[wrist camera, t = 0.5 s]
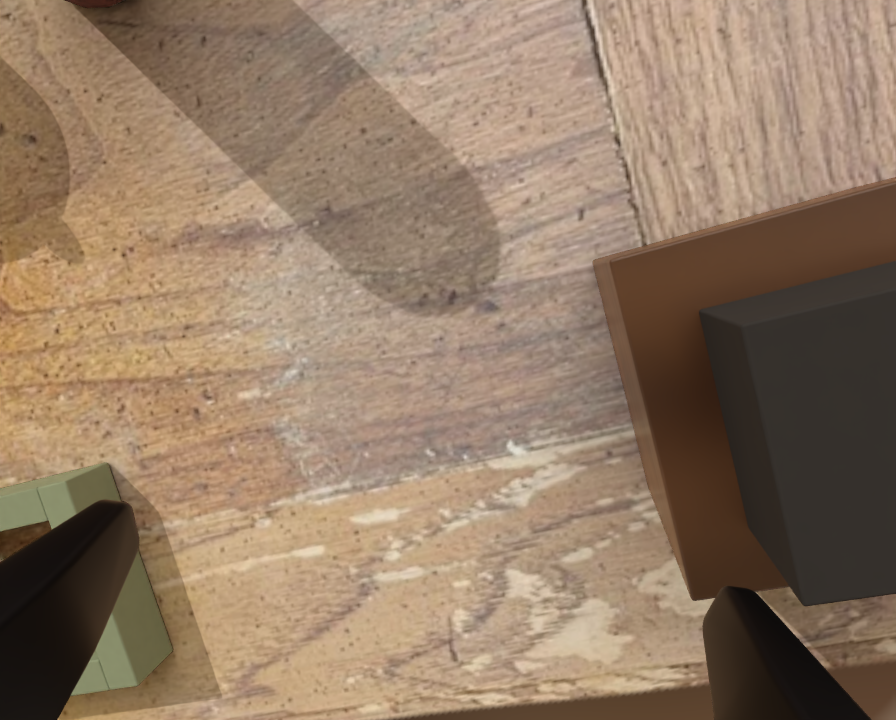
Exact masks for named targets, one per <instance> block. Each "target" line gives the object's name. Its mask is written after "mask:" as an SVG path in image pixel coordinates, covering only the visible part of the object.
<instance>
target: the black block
mask: <svg viewBox="0 0 896 720" xmlns="http://www.w3.org/2000/svg"><path fill="white" fill-rule="evenodd" d="M699 316H700V320H701V324H702V329H703V333H704V337H705V342H706V346H707V350H708V355H709V359H710V363H711V368H712V372H713V376H714V381H715V385H716V389H717V394H718V398H719V402H720V407H721V411H722V415H723V420H724V424H725V428H726V433H727V437H728V441H729V446H730V450H731V454H732V459H733V463H734V467H735V472H736V476H737V480H738V485H739V489H740V493H741V498H742V502H743V506H744V511H745V515H746V519H747V524H748V528H749V529H750V531H751V532H752V534H753V535H754V536H755V538H756V539H757V541H758V542H759V543H760V545H761V546H762V548H763V549H764V551H765V552H766V553H767V555H768V556H769V558H770V559H771V561H772V562H773V563H774V565H775V566H776V568H777V569H778V571H779V572H780V573H781V575H782V576H783V578H784V579H785V580H786V582H787V583H788V585H789V586H790V588H791V589H792V590H793V592H794V593H795V595H796V596H797V598H798V599H799V600H800V602H801V603H802V605H804V606H812V605H819V604H826V603H833V602H840V601H847V600H854V599H861V598H868V597H875V596H883V595H890V594H896V261H893V262H889V263H885V264H881V265H877V266H873V267H869V268H865V269H861V270H857V271H853V272H849V273H845V274H841V275H837V276H833V277H829V278H825V279H821V280H817V281H813V282H809V283H805V284H801V285H797V286H793V287H789V288H785V289H781V290H777V291H773V292H769V293H765V294H760V295H756V296H752V297H748V298H744V299H740V300H736V301H732V302H728V303H724V304H720V305H716V306H712V307H708V308H704V309H701V310H699Z"/></svg>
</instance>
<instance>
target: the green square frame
mask: <svg viewBox="0 0 896 720" xmlns="http://www.w3.org/2000/svg"><path fill="white" fill-rule="evenodd" d="M103 499H108V500H115V501H121V499H120V496H119V493H118V490H117V488H116V485H115V482H114V479H113V476H112V473H111V470H110V467H109V465H108V463H102V464H98V465H94V466H90V467H86V468H82V469H77V470H73V471H69V472H65V473H61V474H57V475H53V476H49V477H45V478H41V479H37V480H33V481H29V482H25V483H20V484H16V485H12V486H8V487H4V488H0V532H1V531H5V530H10V529H14V528H18V527H23V526H27V525H32V524H36V523H41V522H45V521H49V523H50V525H51V528H52V529H53V528H55V527H57V526H58V525H60V524H61V523H63V522H65V521H66V520H68V519H69V518H71V517H72V516H74V515H76V514H77V513H79V512H80V511H82V510H84V509H85V508H87V507H88V506H90V505H92V504H93V503H95V502H97V501H99V500H103ZM172 651H173V648H172V646H171V643H170V640H169V637H168V634H167V631H166V628H165V625H164V623H163V620H162V617H161V614H160V611H159V608H158V605H157V602H156V600H155V597H154V594H153V591H152V588H151V585H150V582H149V579H148V577H147V574H146V571H145V568H144V565H143V562H142V559H141V557H140V554H139V551H138V552H137V555H136V557H135V560H134V562H133V564H132V567H131V569H130V571H129V574H128V576H127V578H126V581H125V583H124V585H123V588H122V590H121V592H120V595H119V597H118V599H117V602H116V604H115V606H114V609H113V611H112V613H111V616H110V618H109V620H108V623H107V625H106V627H105V630H104V632H103V634H102V636H101V639H100V641H99V643H98V645H97V647H96V650H95V652H94V653H93V655H92V657H91V659H90V661H89V663H88V665H87V667H86V669H85V670H84V672H83V674H82V676H81V678H80V679H79V681H78V683H77V685H76V687H75V688H74V690H73V692H72V694H71V696H74V695H81V694H88V693H94V692H101V691H108V690H114V689H121V688H128V687H135V686H138V685H139V684H140V683H141V682H142V681H143V680H144V679H145V678H146V677H147V676H148V675H149V674H150V673H151V672H152V671H153V670H154V669H155V668H156V667H157V666H158V665H159V664H160V663H161V662H162V661H163V660H164V659H165V658H166V657H167V656H168V655H169V654H170V653H171V652H172Z"/></svg>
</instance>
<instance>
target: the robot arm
mask: <svg viewBox="0 0 896 720" xmlns="http://www.w3.org/2000/svg"><path fill="white" fill-rule="evenodd" d="M138 548H139V534H138V530H137V526H136V522H135V518H134V514H133V510H132V507H131V506H130V505H129V504H128V503H127V502H122V501H115V500H108V499H103V500H99V501H97V502H95V503H93V504H92V505H90V506H88V507H87V508H85V509H84V510H82V511H80V512H79V513H77V514H76V515H74V516H72V517H71V518H69V519H68V520H66V521H65V522H63V523H61V524H60V525H58V526H57V527H55V528H53V529H52V530H50V531H49V532H47V533H46V534H44V535H42V536H41V537H39V538H38V539H36V540H34V541H33V542H31V543H30V544H28V545H26V546H25V547H23V548H22V549H20V550H19V551H17V552H15V553H14V554H12V555H11V556H9V557H7V558H6V559H4V560H3V561H1V562H0V720H57V719H58V717H59V715H60V714H61V712H62V710H63V708H64V706H65V705H66V703H67V701H68V699H69V697H70V696H71V694H72V692H73V690H74V688H75V687H76V685H77V683H78V681H79V679H80V678H81V676H82V674H83V672H84V670H85V669H86V667H87V665H88V663H89V661H90V659H91V657H92V655H93V653H94V652H95V650H96V647H97V645H98V643H99V641H100V639H101V636H102V634H103V632H104V630H105V627H106V625H107V623H108V620H109V618H110V616H111V613H112V611H113V609H114V606H115V604H116V602H117V599H118V597H119V595H120V592H121V590H122V588H123V585H124V583H125V581H126V578H127V576H128V574H129V571H130V569H131V567H132V564H133V562H134V560H135V557H136V555H137V552H138ZM703 638H704V645H705V653H706V660H707V668H708V675H709V682H710V690H711V697H712V705H713V712H714V720H871V719H870V717H869V716H868V715H867V714H866V713H865V712H864V711H863V710H862V709H861V708H860V706H859V705H858V704H857V703H856V702H855V701H854V700H853V699H852V698H851V697H850V696H849V694H848V693H847V692H846V691H845V690H844V689H843V688H842V687H841V686H840V684H839V683H838V682H837V681H836V680H835V679H834V678H833V677H832V676H831V675H830V673H829V672H828V671H827V670H826V669H825V668H824V667H823V666H822V665H821V664H820V662H819V661H818V660H817V659H816V658H815V657H814V656H813V655H812V654H811V653H810V651H809V650H808V649H807V648H806V647H805V646H804V645H803V644H802V643H801V642H800V640H799V639H798V638H797V637H796V636H795V635H794V634H793V633H792V632H791V631H790V629H789V628H788V627H787V626H786V625H785V624H784V623H783V622H782V621H781V620H780V618H779V617H778V616H777V615H776V614H775V613H774V612H773V611H772V610H771V609H770V607H769V606H768V605H767V604H766V603H765V602H764V601H763V600H762V599H761V598H760V596H759V595H758V594H757V593H755V592H754V591H753V590H751V589H748V588H741V587H734V586H725V587H723V588H721V589H720V591H719V593H718V594H717V596H716V598H715V600H714V601H713V603H712V605H711V606H710V608H709V610H708V612H707V613H706V615H705V618H704V621H703Z"/></svg>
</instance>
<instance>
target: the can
mask: <svg viewBox="0 0 896 720" xmlns="http://www.w3.org/2000/svg"><path fill="white" fill-rule="evenodd" d="M65 1H68V2H71V3H74V4H76V5H79V6H82V7H85V8H98V7H110V6H112V5H115V4H118V3H120V2H122V1H125V0H65Z"/></svg>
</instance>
